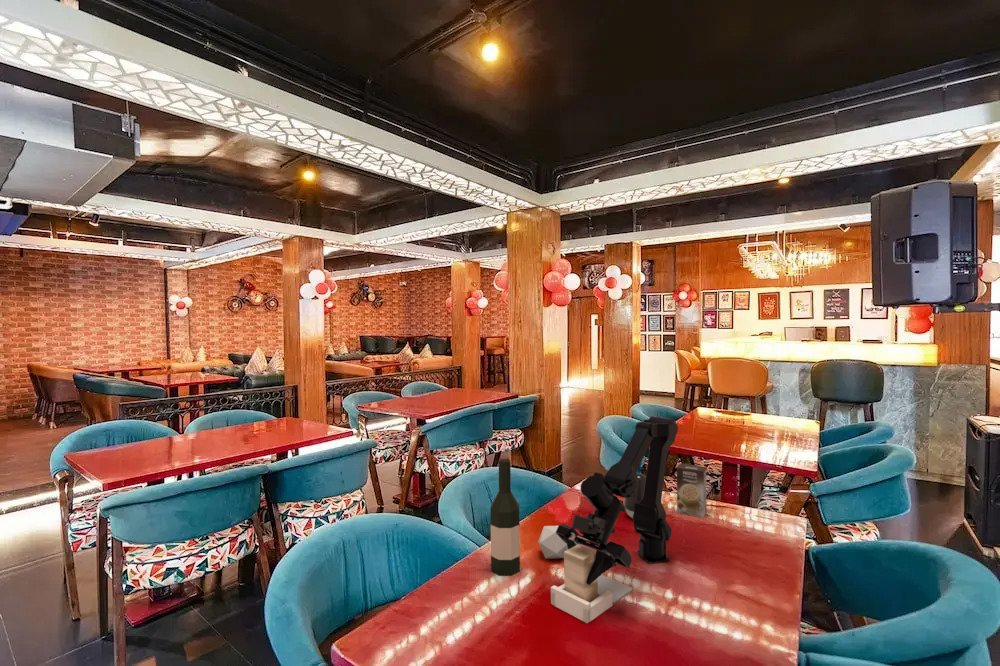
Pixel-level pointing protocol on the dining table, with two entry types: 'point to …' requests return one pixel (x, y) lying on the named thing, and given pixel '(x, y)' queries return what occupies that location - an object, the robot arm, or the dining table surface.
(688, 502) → the coffee box
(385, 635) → the dining table surface
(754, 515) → the dining table surface
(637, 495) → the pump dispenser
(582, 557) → the birch block
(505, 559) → the wine bottle
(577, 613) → the white angular bracket
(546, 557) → the die
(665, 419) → the robot arm
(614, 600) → the grey pad
